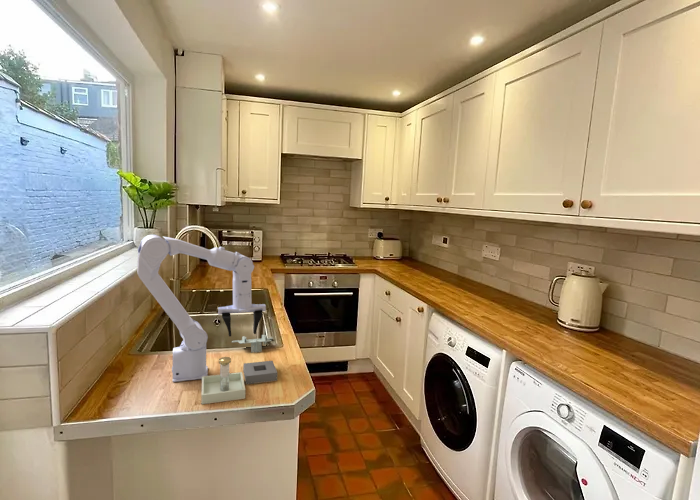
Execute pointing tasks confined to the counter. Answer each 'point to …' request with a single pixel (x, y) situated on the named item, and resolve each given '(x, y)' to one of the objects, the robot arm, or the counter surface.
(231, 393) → the tray
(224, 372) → the steel pin
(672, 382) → the counter surface
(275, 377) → the pin block
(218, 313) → the robot arm
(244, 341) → the metal bracket
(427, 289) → the counter surface
